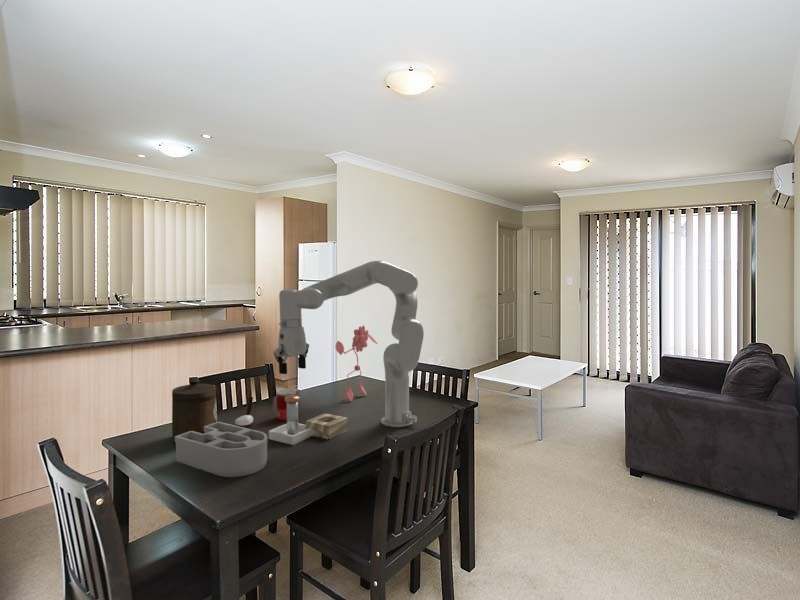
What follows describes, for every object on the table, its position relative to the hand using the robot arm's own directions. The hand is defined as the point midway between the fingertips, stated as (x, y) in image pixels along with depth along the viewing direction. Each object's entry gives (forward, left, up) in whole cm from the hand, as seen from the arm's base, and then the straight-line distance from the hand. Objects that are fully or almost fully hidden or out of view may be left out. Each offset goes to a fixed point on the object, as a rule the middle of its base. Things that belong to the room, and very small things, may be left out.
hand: (292, 370), depth 166 cm
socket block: (-8, -10, -24) cm, 27 cm away
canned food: (+17, -15, -25) cm, 33 cm away
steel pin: (0, 0, -24) cm, 24 cm away
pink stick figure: (+6, -53, -25) cm, 58 cm away
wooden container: (+30, +18, -25) cm, 43 cm away
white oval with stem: (+19, +5, -25) cm, 32 cm away
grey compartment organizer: (+3, +27, -25) cm, 37 cm away
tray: (0, 0, -24) cm, 24 cm away
